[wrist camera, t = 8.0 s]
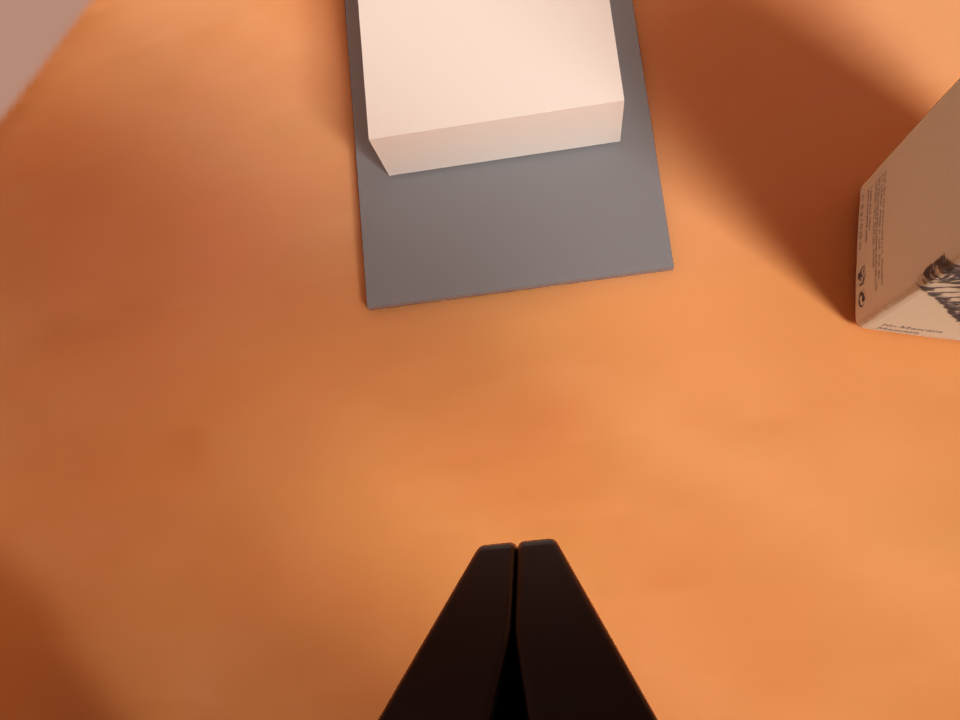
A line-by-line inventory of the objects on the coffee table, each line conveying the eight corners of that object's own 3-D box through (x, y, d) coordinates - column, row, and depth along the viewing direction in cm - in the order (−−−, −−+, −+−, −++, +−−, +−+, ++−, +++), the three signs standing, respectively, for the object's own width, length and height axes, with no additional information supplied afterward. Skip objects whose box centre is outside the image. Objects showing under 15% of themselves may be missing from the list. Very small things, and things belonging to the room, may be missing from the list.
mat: (672, 269, 23) (673, 266, 23) (369, 309, 24) (367, 307, 24) (608, -141, 26) (608, -149, 25) (340, -91, 27) (337, -98, 26)
